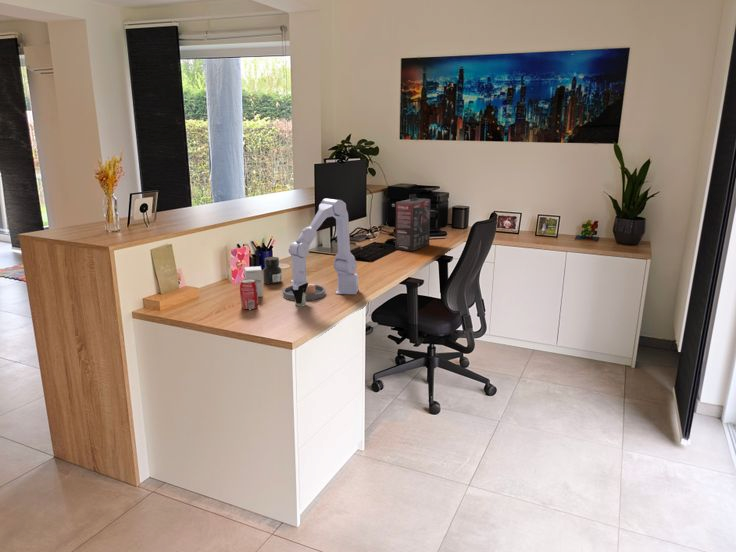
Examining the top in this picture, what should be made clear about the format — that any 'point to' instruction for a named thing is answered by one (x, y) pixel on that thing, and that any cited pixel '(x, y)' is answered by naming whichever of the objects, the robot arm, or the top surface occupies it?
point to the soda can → (248, 294)
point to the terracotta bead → (310, 289)
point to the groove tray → (318, 293)
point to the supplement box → (255, 277)
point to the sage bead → (302, 301)
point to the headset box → (412, 223)
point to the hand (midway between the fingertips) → (300, 301)
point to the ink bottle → (272, 271)
